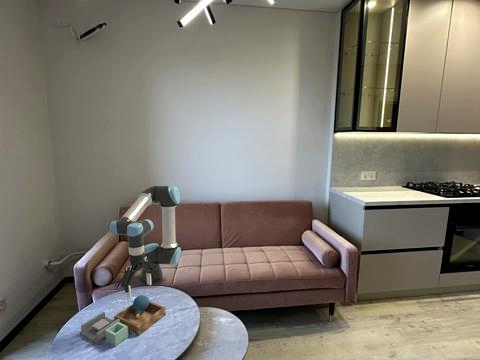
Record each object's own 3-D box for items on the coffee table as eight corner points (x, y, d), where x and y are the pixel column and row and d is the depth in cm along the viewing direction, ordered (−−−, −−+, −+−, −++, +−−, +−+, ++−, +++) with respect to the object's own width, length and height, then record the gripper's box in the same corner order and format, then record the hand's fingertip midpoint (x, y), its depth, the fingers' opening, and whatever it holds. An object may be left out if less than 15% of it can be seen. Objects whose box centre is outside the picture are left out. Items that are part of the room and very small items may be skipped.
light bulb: (138, 313, 143) (144, 291, 152) (125, 316, 145) (132, 294, 154) (148, 319, 148) (153, 297, 157) (135, 322, 150) (141, 300, 159)
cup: (118, 332, 138) (118, 321, 137) (128, 337, 134) (127, 326, 133) (106, 341, 132) (105, 330, 131) (115, 346, 128) (115, 335, 127)
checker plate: (102, 320, 142) (102, 318, 142) (110, 324, 139) (110, 322, 139) (91, 327, 137) (91, 325, 137) (99, 331, 134) (99, 329, 134)
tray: (142, 305, 160) (141, 298, 160) (165, 315, 151) (165, 307, 151) (114, 323, 144) (113, 316, 144) (139, 335, 135) (138, 327, 135)
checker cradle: (105, 319, 148) (104, 310, 147) (122, 327, 141) (122, 318, 141) (79, 335, 136) (78, 325, 135) (97, 345, 129) (96, 335, 129)
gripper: (149, 243, 155) (152, 277, 158) (110, 261, 133) (114, 300, 137) (159, 245, 151) (161, 281, 155) (120, 264, 130) (124, 305, 133)
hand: (139, 290), depth 146 cm, fingers open, 13 cm apart
